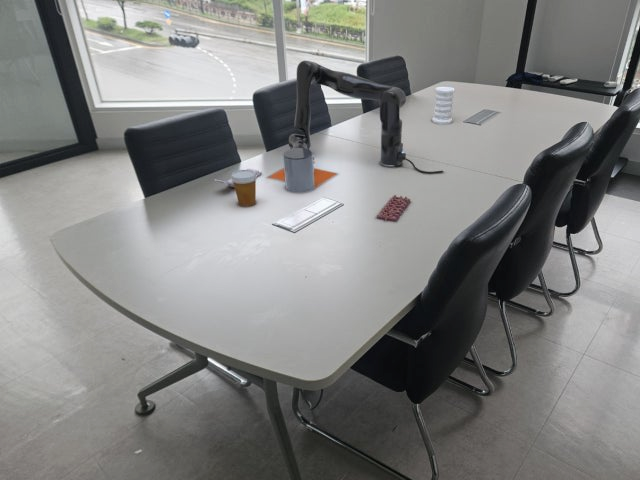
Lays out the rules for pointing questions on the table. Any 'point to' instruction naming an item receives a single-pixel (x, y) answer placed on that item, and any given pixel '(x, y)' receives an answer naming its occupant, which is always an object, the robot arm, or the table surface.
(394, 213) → the red flat knobbed bar
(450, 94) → the decorative container
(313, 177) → the crock
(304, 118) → the robot arm
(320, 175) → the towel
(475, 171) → the table surface
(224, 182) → the grey white handled utensil
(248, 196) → the disposable coffee cup
